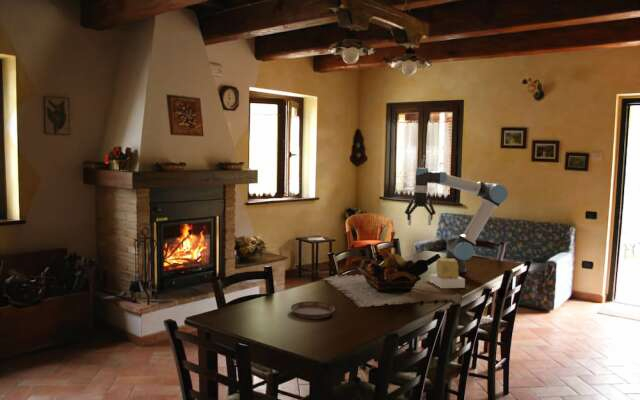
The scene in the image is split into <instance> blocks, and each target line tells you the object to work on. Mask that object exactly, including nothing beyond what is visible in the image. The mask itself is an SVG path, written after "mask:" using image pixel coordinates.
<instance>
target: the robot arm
mask: <svg viewBox="0 0 640 400" xmlns="http://www.w3.org/2000/svg"><path fill="white" fill-rule="evenodd" d="M428 184H437V185H441V186H445V187H448V188H452V189H456V190H460V191H464V192H468V193H471V194H474V195H475V196H476V197H479V198H481V204H480V205H479V207H478V209H477V210H476V211H475V213H474V215H473V217H472V219H471V220H470V221H469V224H468V226H467V227H466V229H465V230H464V232H463V233H462V234H459V236H453V235H451V236H447V239H446V256H445V257H446V258H445V259H453V258H454V259H455V260H456V261H457V264H458V273H459V274H460V273H466V272H467V265H466V263H465V260H466V261H467V260H469V259H471V258H472V257H473V255H474V252H475V249H474V248H475V247H476V245H477V242H476V240H477V239H478V237H479V235H480V233H481V232H482V230H483V229H484V227H485V225H486V224H487V222H488V221H489V219H490V217H491V215H492V213H493V212H494V210H495V209H497V208H499V206H500V205H501V203H504V202H505V201H506V200H507V198H508V193H509V192H508V189H507V188H506V186H505V185H503V184H501V183H493V182H484V181H479V180H478V182H477V181H473V180H470V179H466V178H462V177H459V176H458V177H457V176H454V175H450V174H447V172H446V171H441V170H440V171H439V170H438V171H437V170H429V168H427V167H417V168H416V169H415V185H414V191H415V193H414V199H409V203H408V205H407V207H406V209H405V210H404V214H406V215H407V217H406V218H407V222H408V224H407V225H408V226H412V213H413V212H414V211H415V210H416V208H418V207H419V208H420V207H423V208H425V210H426V212H427V213H428V217H427V219H428V222H427V225H428V226H432V221H433V216H434V215H436V213H437V212H436V211H435V208H434V206H433V204H432V199H428V193H427V192H428ZM427 204H428V205H427ZM428 206H429V207H428Z"/></svg>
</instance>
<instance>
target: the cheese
mask: <svg viewBox="0 0 640 400" xmlns="http://www.w3.org/2000/svg"><path fill="white" fill-rule="evenodd" d="M436 274H437V275H439V276H440V277H441V278H458V276H459V274H460V273H458V264H457V261H456V260H455V259H454V258H453V259H446V258H437V261H436Z"/></svg>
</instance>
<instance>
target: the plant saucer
mask: <svg viewBox="0 0 640 400" xmlns="http://www.w3.org/2000/svg"><path fill="white" fill-rule="evenodd" d="M290 309H291V311H292V313H293V314H295V316H297V317H299V318H303V319H309V320H319V319H325V318H327V317H330V315H332V314H333V313H334V311H335V309H336V308H335V306H334V305H332V304H331V303H328V302H324V301H313V300H312V301H311V300H309V301H307V300H306V301H299V302H296V303H293V304H291V306H290Z"/></svg>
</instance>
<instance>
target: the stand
mask: <svg viewBox="0 0 640 400" xmlns="http://www.w3.org/2000/svg"><path fill="white" fill-rule="evenodd" d="M429 283H431V284H432V283H433V284H432V285H434V284H435V285H434V286H436V287H438V288H439V287H440V288H439V289H459V288H460V289H461V288H463V289H465V287H466V279H465V278H464V277H461V276H458V278H441V277H440V276H439V275H437V273H430V274H429Z"/></svg>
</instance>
